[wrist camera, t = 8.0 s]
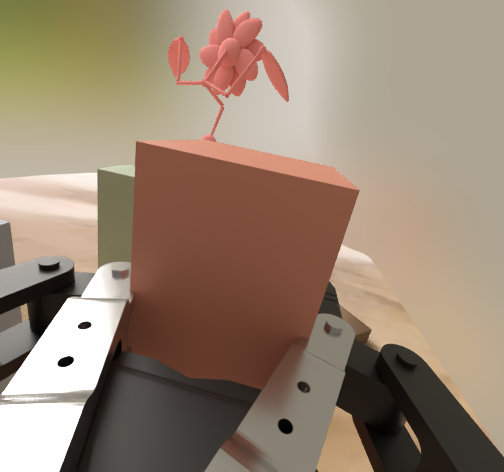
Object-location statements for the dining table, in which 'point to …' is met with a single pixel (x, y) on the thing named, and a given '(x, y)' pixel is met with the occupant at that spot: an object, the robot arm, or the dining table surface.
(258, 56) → the figurine
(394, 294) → the dining table surface
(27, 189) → the dining table surface
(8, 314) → the blue grey block
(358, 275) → the dining table surface
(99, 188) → the olive block
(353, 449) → the dining table surface
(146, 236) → the red block
